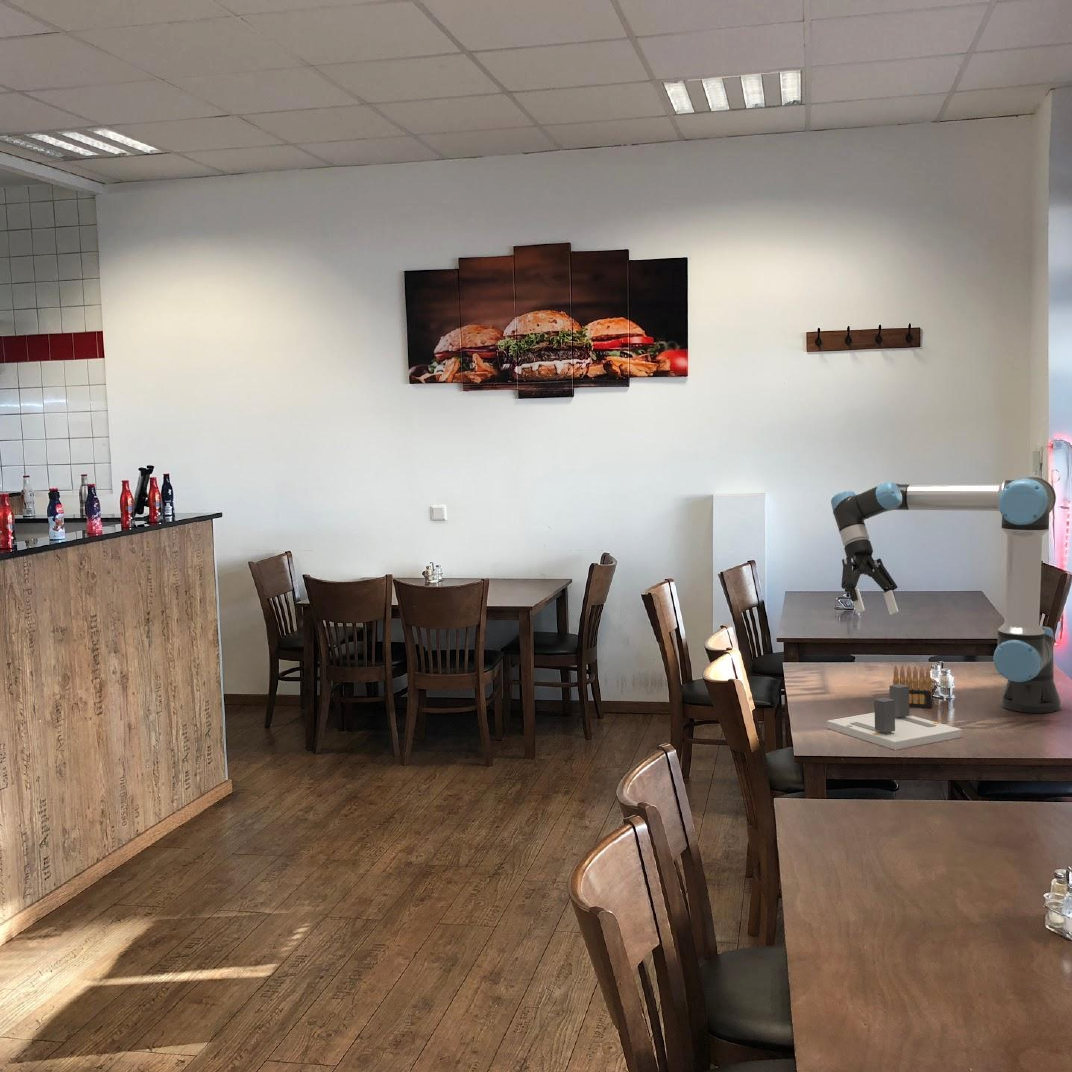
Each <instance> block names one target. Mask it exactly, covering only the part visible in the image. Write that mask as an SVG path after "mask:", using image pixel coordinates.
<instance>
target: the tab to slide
mask: <svg viewBox="0 0 1072 1072" xmlns="http://www.w3.org/2000/svg"><path fill="white" fill-rule="evenodd" d="M889 699H892V700H895V716H896V717H905V716H909V715H910V707H909V686H906V685H902V684H900V683H899V684H897V685H893V684H891V685H889Z"/></svg>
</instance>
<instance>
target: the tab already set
mask: <svg viewBox="0 0 1072 1072" xmlns="http://www.w3.org/2000/svg"><path fill="white" fill-rule="evenodd" d="M873 703H874V706H873V707H874V712H875V730H876V731H880V732H883V733H887V732H892V731H895V700H892V699H890V697H889V698H887V697H881V698H875V699H874V701H873Z"/></svg>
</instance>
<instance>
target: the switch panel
mask: <svg viewBox="0 0 1072 1072" xmlns="http://www.w3.org/2000/svg"><path fill="white" fill-rule="evenodd" d="M826 729H828V730H832V731H835V732H839V733H840V734H841V733H842V734H844V735H848V736H849V737H854V738H856V739H860V740H863V741H866V742H868V743H873V744H875V745H879V746H881V747H885V748H887V749H891V750H894V751H896V750H901V749H907V748H912V747H918V746H922V745H923V746H924V745H928V744H933V743H938V742H943V741H949V740H955V739H958V738H962V737H963V730H962V728H958V727H954V726H951V725H949V724H948V725H947V724H944V723H941V722H937V721H933V720H929V719H925V718H922V717H918V716H914V715H911V714H909V716H905V717H896V716H895V731H892V732H887V733H883V732H880V731H876V730H875V711H874V712H870V713H865V714H859V715H853V716H847V717H841V718H836V719H835V718H834V719H829V720H826Z"/></svg>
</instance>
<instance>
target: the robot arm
mask: <svg viewBox="0 0 1072 1072" xmlns="http://www.w3.org/2000/svg"><path fill="white" fill-rule="evenodd" d="M1056 501H1057V496H1056V491H1055V489H1054V487H1053V486H1052V484H1050V483H1049V482H1048V481H1047V480H1045V479H1043V478H1041V477H1035V476H1031V477H1026V478H1025V477H1024V478H1018V479H1009V480H1008V479H1004V480H1003V482H1001V483H934V484H933V483H931V484H930V483H928V484H927V483H924V484H923V483H921V484H920V483H919V484H918V483H917V484H914V483H913V484H912V483H911V484H910V483H909V484H907V483H906V484H905V483H903V484H900V483H895V482H894V481H891V480H890V481H886V482H884V483H880V484H879V485H877V486H874V487H871V488H869V489H868V490H865V491H864V492H861V493H858V494H856V493H855V491H852V490H845V491H841V492H837V494H834V495H833V496H832V497H831V500H830V503H831V508H832V514H833V516H834V517H833V518H834V519H835V520H834V521H835V522H836V525H837V528H838V533H839V534H840V538H841V542H842V545H843V547H844V549H843V550H844V552H845V553H844V554H845V556H846V557H844V558H843V559H841V562H842V563H841V564H842V575H841V583H840V584H841V585H840V586H841V589H842V590H844V591H845V593H848V594H849V596H850V600H851V602H852V605H853V608H854V611H855V614H857V615H858V614H860V613H862V612H864V611H866V609H865V606H864V605H865V604H864V602H863V598H862V595H861V591H860V589H859V588H857V585H858V582H859V581H860V580H859V579H860V578H861V575H865V576H868V577H869V578H871V579H873V581H874V582H875V583H876V584H877V585H878V587H879V588H880V589H882V591H884V592H883V598H884V600H885V604H886V608H887V610H888V613H889V615H890V616H893V615H895V614H897V613H899V608H898V605H897V600H896V597H895V593H894V590H896V589H898V585H897V584H896V582H895V581H894V579H893V577H892V576H891V575H890V573H889V571H888V570H887V568H886V567H885V566H884V563H883V561H882V559H881V558H880V557H879V558H877V559H874V558H873V556H872V555H873V553H874V550H873V546H872V545H873V544H872V543H871V540H870V536H869V533H868V530H867V527H866V524H865V520H867V519H870V518H873V517H875V516H877V515H880V514H883V513H886V512H891V511H909V510H910V511H971V512H974V511H976V512H977V511H978V512H979V511H981V512H986V511H987V512H1000V514H1001V527H1000V528H1001V530H1002V531H1003V532H1004V533H1005V534H1006V562H1005V563H1006V564H1005V565H1006V566H1005V591H1004V593H1005V594H1004V597H1005V600H1004V620H1003V621H1004V623H1002V625H1001V626H999V627H998V628H997V646H996V648H995V650H994V653H993V665H994V668H995V669H996V671H997V673H998V674H999V675H1001V677H1003V678H1004V679H1006V680H1007V681H1006V684H1005V688H1004V691H1003V693H1002V697H1001V707H1003V708H1004V709H1007V710H1008V711H1009V710H1010V711H1015V712H1019V713H1029V714H1030V713H1031V714H1032V713H1033V714H1045V713H1046V714H1047V713H1052V712H1053V713H1054V712H1057V711H1060V710H1061V707H1062V704H1061V703H1062V701H1061V698H1060V695H1059V692H1058V690H1057V687H1056V683H1055V680H1054V640H1055V637H1054V630H1053V628H1051V627H1050V626H1040V612H1041V611H1040V608H1041V607H1040V606H1041V582H1042V555H1043V554H1042V553H1043V551H1042V550H1043V549H1042V548H1043V536H1044V535H1046V533H1048V531H1049V529H1050V513H1051V512H1052V511H1053V509H1054V508H1055V505H1056Z"/></svg>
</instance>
